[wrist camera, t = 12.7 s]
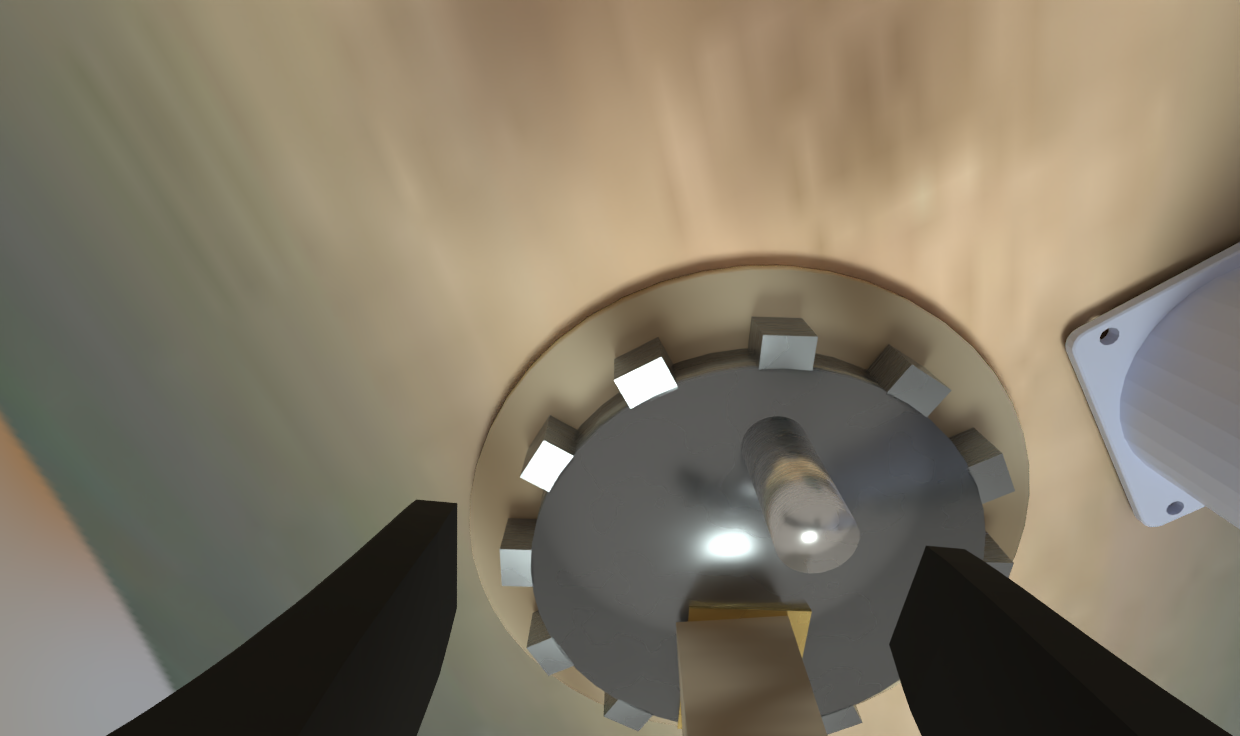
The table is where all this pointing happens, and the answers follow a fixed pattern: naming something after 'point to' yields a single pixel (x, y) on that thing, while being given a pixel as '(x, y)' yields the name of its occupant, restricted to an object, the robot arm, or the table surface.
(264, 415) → the table surface
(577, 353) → the sprocket base
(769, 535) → the sprocket
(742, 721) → the link block
